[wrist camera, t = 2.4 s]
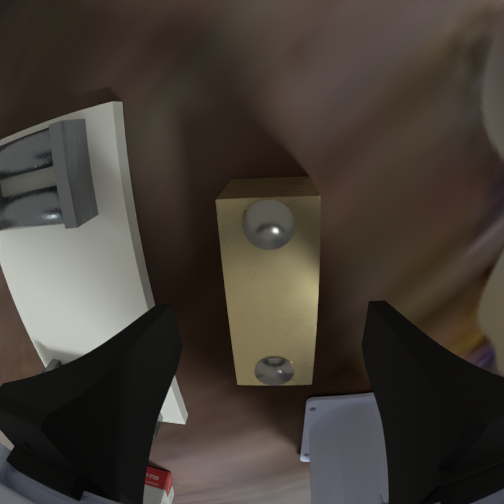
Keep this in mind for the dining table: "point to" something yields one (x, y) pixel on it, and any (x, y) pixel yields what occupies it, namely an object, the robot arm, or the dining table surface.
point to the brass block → (271, 276)
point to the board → (83, 256)
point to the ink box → (158, 487)
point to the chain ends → (54, 197)
